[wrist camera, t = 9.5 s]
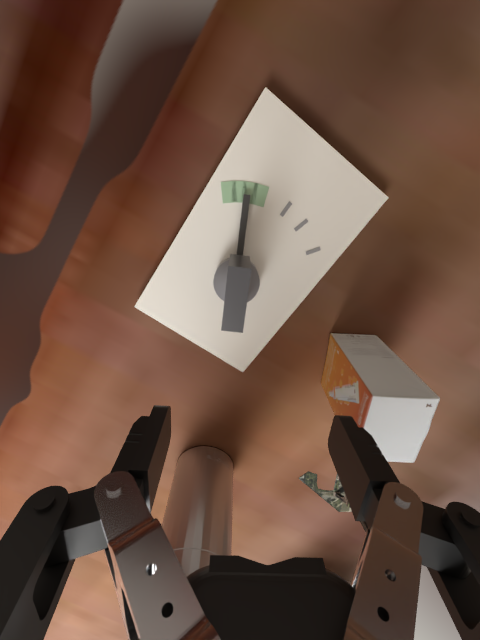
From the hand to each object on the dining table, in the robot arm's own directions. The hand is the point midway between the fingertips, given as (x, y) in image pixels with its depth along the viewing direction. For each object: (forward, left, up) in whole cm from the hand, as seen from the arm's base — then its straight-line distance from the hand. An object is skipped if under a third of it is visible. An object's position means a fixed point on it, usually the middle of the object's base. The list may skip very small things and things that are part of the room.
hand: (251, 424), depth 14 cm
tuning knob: (+4, +3, -21) cm, 21 cm away
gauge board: (+4, +2, -23) cm, 23 cm away
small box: (0, -17, -23) cm, 28 cm away
